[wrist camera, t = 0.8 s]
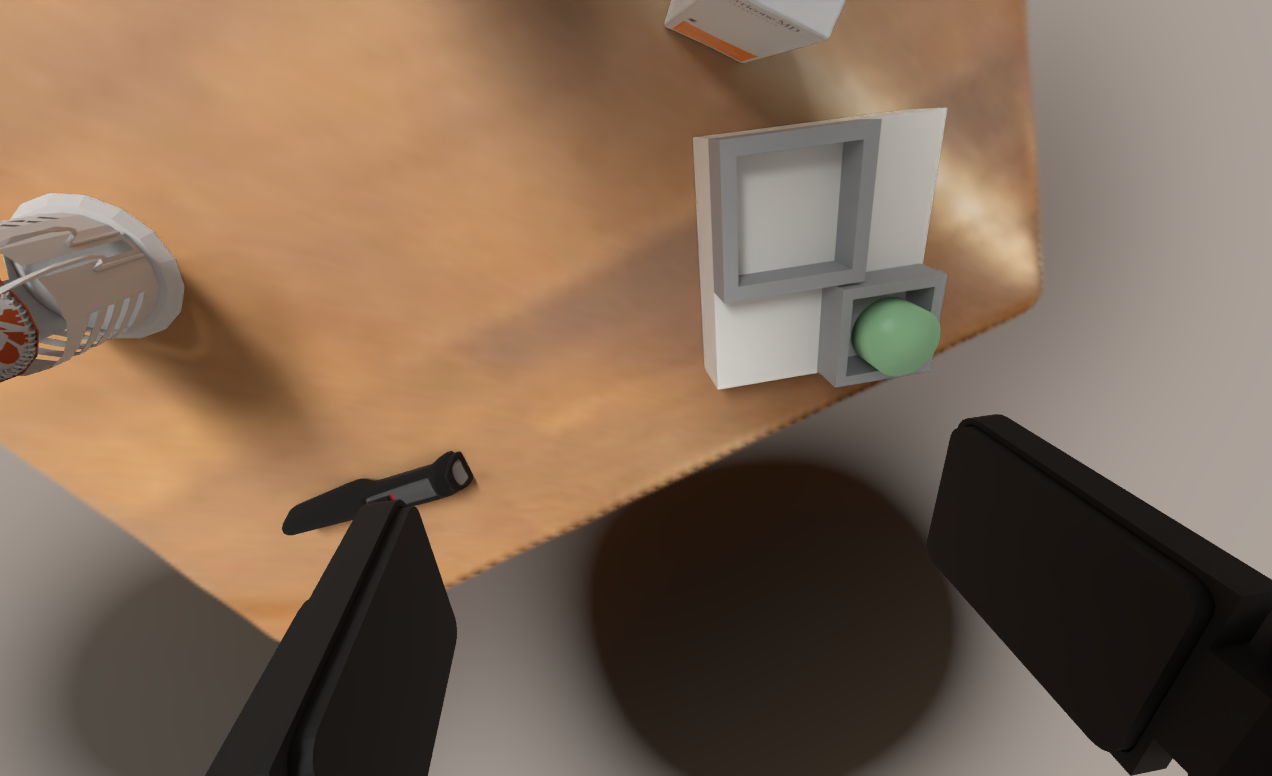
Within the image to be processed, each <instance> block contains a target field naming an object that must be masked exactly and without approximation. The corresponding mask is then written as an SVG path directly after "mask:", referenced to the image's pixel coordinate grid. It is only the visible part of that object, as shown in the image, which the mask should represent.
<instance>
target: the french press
mask: <svg viewBox="0 0 1272 776" xmlns="http://www.w3.org/2000/svg"><path fill="white" fill-rule="evenodd" d="M6 221H7V222H6ZM0 224H1V225H0V253H1V254H3V258H4V262H5V266H6V269H7V273H8V276H9V280H6V281H1V280H0V382H3V381H5V380H8V379H10V378H13V377H16V376H27V375H30V374H33V373H36V372H40V371H43V370H46V369H49V368H52V367H54V366H56V365H59V364H61V363H63V362H65V361H67V360H69V359H71V357H72V356H75V355H80V354H81V353H83V352H85V351H87V350H88V349H89V348H91V347H96V346H98V345H100V344H102V343H103V342H105V341H106V340H108V339H112V338H139V339H141V338H144V337H147V336H149V335H152V334H155V333H157V332H160V331H163V330H165V329H167V327H168V326H169V325H170V324H171V323H172V322H173V320H174V319H175V318H176V317H177V316H178V315H179V313H180V312H181V309H182V303H183V296H184V289H185V286H184V283H183V280H182V277H181V274H180V271H179V268H178V265H177V262H176V259H175V258H174V257H173V255H172V254H171V253H170V252H169V250H168V249H167V248H166V247H165V245H164V244H163V243H162V241H161V240H160V239H159V238H158V236H157V235H156V234H155V233H154V231H152V230H151V229H149V228H148V227H147V226H145V225H144V224H142V223H141V222H140V221H138V220H137V219H136V218H134V217H133V216H131V215H130V214H129V213H127V212H126V211H124V210H123V209H121V208H119V207H116V206H113V205H111V204H108V203H105V202H103V201H100V200H97V199H95V198H92V197H89V196H87V195H76V194H56V193H48V194H46V195H43V196H41V197H38V198H35V199H33V200H30V201H28V202H25V203H22V204H21V205H20V206H19V208H18V209H17V211H16V212H15V213H14V215H13V216H12V218H11V219H10V220H3V221H0ZM65 329H67V331H64V330H65ZM85 331H88V332H91V334H90V336H86V335H84V333H85ZM53 334H55V335H60V336H64V337H68V338H67V342H65V341H60V340H56V339H51V338H46V337H48V336H51V335H53ZM98 335H102V336H103V337H97V336H98ZM81 340H87V343H86V344H80V343H81ZM94 341H96V342H98V343H97V344H93V343H94ZM39 342H40V343H45V344H50V345H55V346H59V347H65V349H64V351H56V350H49V349H44V348H39V347H38V344H39ZM77 349H82V350H81V352H76V350H77ZM38 354H41V355H49V356H57V357H61V358H60V359H59V360H58V361H49V360H39V359H35V358H36V357H37V355H38Z"/></svg>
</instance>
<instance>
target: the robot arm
mask: <svg viewBox="0 0 1272 776" xmlns="http://www.w3.org/2000/svg"><path fill="white" fill-rule="evenodd" d="M927 550H928V553H929V556H930V558H931V560H932V561H933V563H934V564H935V565H936V566H937V568H938V569H939V570H940V571H941V572H942V573H943V574H944V575H945V577H946V578H947V579H948V580H949V581H950V582H951V583H952V584H953V585H954V587H955V588H956V589H957V590H958V591H959V592H960V593H961V595H962V596H963V597H964V598H965V599H966V600H967V601H968V603H969V604H970V605H971V606H972V607H973V608H974V609H975V610H976V612H977V613H978V614H979V615H980V616H981V617H982V618H983V619H984V621H985V622H986V623H987V624H988V625H989V626H990V627H991V629H992V630H993V631H994V632H995V633H996V634H997V635H998V636H999V638H1000V639H1001V640H1002V641H1003V642H1004V643H1005V644H1006V645H1007V647H1008V648H1009V649H1010V650H1011V651H1012V652H1013V653H1014V655H1015V656H1016V657H1017V658H1018V659H1019V660H1020V661H1021V662H1022V663H1023V665H1024V666H1025V667H1026V668H1027V669H1028V670H1029V671H1030V673H1031V674H1032V675H1033V676H1034V677H1035V678H1036V679H1037V680H1038V682H1039V683H1040V684H1041V685H1042V686H1043V687H1044V688H1045V689H1046V691H1047V692H1048V693H1049V694H1050V695H1051V696H1052V697H1053V699H1054V700H1055V701H1056V702H1057V703H1058V704H1059V705H1060V706H1061V708H1062V709H1063V710H1064V711H1065V712H1066V713H1067V714H1068V716H1069V717H1070V718H1071V719H1072V720H1073V721H1074V722H1075V723H1076V725H1077V726H1078V727H1079V728H1080V729H1081V730H1082V731H1083V732H1084V733H1085V735H1086V736H1087V737H1088V738H1089V739H1090V740H1091V741H1092V742H1093V743H1094V744H1095V745H1097V746H1098V747H1099V748H1101V749H1102V750H1105V751H1107V752H1110V753H1111V754H1112V756H1113V757H1114V758H1115V759H1116V760H1117V761H1118V762H1119V763H1120V765H1121V766H1122V767H1123V768H1124V769H1125V770H1126V771H1127V772H1128V773H1129V774H1130V776H1132V775H1137V774H1141V773H1146V772H1151V771H1156V770H1161V769H1165V768H1167V766H1168V765H1169V763H1170V762H1171V760H1172V759H1174V760H1175V761H1176V762H1178V764H1179V765H1180V766H1181V767H1182V768H1183V769H1184V770H1185V771H1186V772H1187V773H1188V776H1272V580H1271V579H1270V578H1268V577H1266V576H1265V575H1263V574H1261V573H1260V572H1258V571H1257V570H1255V569H1253V568H1252V567H1250V566H1248V565H1247V564H1245V563H1244V562H1242V561H1240V560H1239V559H1237V558H1235V557H1234V556H1232V555H1231V554H1229V553H1227V552H1226V551H1224V550H1222V549H1221V548H1219V547H1217V546H1216V545H1214V544H1212V543H1211V542H1209V541H1208V540H1206V539H1204V538H1203V537H1201V536H1200V535H1198V534H1196V533H1195V532H1193V531H1191V530H1190V529H1188V528H1186V527H1185V526H1183V525H1182V524H1180V523H1178V522H1177V521H1175V520H1174V519H1172V518H1170V517H1169V516H1167V515H1165V514H1164V513H1162V512H1161V511H1159V510H1157V509H1156V508H1154V507H1152V506H1151V505H1149V504H1147V503H1146V502H1144V501H1143V500H1141V499H1139V498H1138V497H1136V496H1135V495H1133V494H1131V493H1130V492H1128V491H1126V490H1125V489H1123V488H1122V487H1120V486H1118V485H1116V484H1115V483H1113V482H1112V481H1110V480H1108V479H1107V478H1105V477H1104V476H1102V475H1100V474H1099V473H1097V472H1095V471H1094V470H1092V469H1090V468H1089V467H1087V466H1086V465H1084V464H1082V463H1081V462H1079V461H1078V460H1076V459H1074V458H1073V457H1071V456H1069V455H1068V454H1066V453H1064V452H1063V451H1061V450H1060V449H1058V448H1056V447H1055V446H1053V445H1051V444H1050V443H1048V442H1047V441H1045V440H1043V439H1042V438H1040V437H1038V436H1037V435H1035V434H1034V433H1032V432H1030V431H1029V430H1027V429H1025V428H1024V427H1022V426H1021V425H1019V424H1017V423H1016V422H1014V421H1012V420H1011V419H1009V418H1008V417H1005V416H1003V415H997V414H995V415H987V416H981V417H973V418H967V419H965V420H962V422H961V423H960V424H959V426H958V428H957V429H955V430H954V431H953V432H952V434H951V437H950V441H949V446H948V450H947V455H946V460H945V464H944V468H943V472H942V477H941V482H940V486H939V490H938V495H937V499H936V504H935V508H934V513H933V517H932V522H931V526H930V531H929V535H928V539H927ZM456 639H457V627H456V620H455V616H454V613H453V610H452V608H451V605H450V602H449V599H448V596H447V593H446V590H445V587H444V584H443V581H442V578H441V575H440V572H439V569H438V566H437V563H436V560H435V557H434V554H433V552H432V549H431V546H430V543H429V540H428V537H427V534H426V531H425V528H424V525H423V522H422V519H421V516H420V513H419V511H418V509H417V508H416V507H414V506H412V507H407V505H406V503H405V502H404V501H403V500H400V499H398V500H391V501H384V502H377V503H370V504H365V505H363V506H362V507H361V508H360V509H359V510H358V512H357V514H356V516H355V518H354V519H353V521H352V523H351V525H350V527H349V528H348V530H347V532H346V534H345V536H344V537H343V539H342V541H341V543H340V545H339V546H338V548H337V550H336V552H335V554H334V555H333V557H332V559H331V561H330V563H329V564H328V566H327V568H326V570H325V572H324V573H323V575H322V577H321V579H320V581H319V582H318V584H317V586H316V588H315V590H314V591H313V593H312V595H311V597H310V598H309V600H307V601H306V602H305V603H304V604H303V605H302V607H301V608H300V609H299V611H298V612H297V614H296V616H295V618H294V619H293V621H292V623H291V625H290V626H289V628H288V630H287V632H286V634H285V635H284V637H283V639H282V641H281V642H280V644H279V646H278V648H277V649H276V652H275V653H274V655H273V657H272V658H271V660H270V662H269V664H268V665H267V667H266V669H265V671H264V672H263V674H262V676H261V678H260V680H259V682H258V683H257V685H256V687H255V688H254V690H253V692H252V694H251V695H250V698H249V699H248V701H247V703H246V704H245V706H244V708H243V710H242V711H241V713H240V715H239V717H238V719H237V720H236V722H235V724H234V725H233V727H232V729H231V731H230V733H229V734H228V736H227V738H226V740H225V741H224V743H223V745H222V747H221V749H220V750H219V752H218V754H217V756H216V757H215V759H214V761H213V763H212V764H211V766H210V768H209V770H208V771H207V773H206V775H205V776H428V772H429V767H430V762H431V758H432V752H433V748H434V744H435V739H436V734H437V729H438V725H439V720H440V716H441V711H442V706H443V701H444V697H445V692H446V687H447V683H448V678H449V673H450V668H451V664H452V659H453V655H454V650H455V645H456Z"/></svg>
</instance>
